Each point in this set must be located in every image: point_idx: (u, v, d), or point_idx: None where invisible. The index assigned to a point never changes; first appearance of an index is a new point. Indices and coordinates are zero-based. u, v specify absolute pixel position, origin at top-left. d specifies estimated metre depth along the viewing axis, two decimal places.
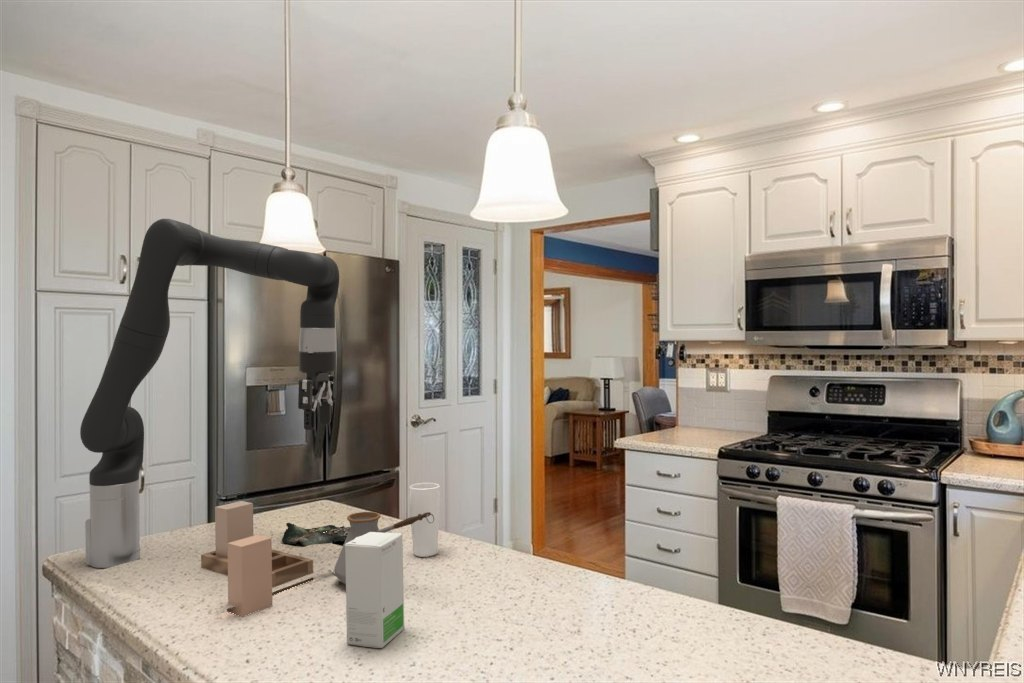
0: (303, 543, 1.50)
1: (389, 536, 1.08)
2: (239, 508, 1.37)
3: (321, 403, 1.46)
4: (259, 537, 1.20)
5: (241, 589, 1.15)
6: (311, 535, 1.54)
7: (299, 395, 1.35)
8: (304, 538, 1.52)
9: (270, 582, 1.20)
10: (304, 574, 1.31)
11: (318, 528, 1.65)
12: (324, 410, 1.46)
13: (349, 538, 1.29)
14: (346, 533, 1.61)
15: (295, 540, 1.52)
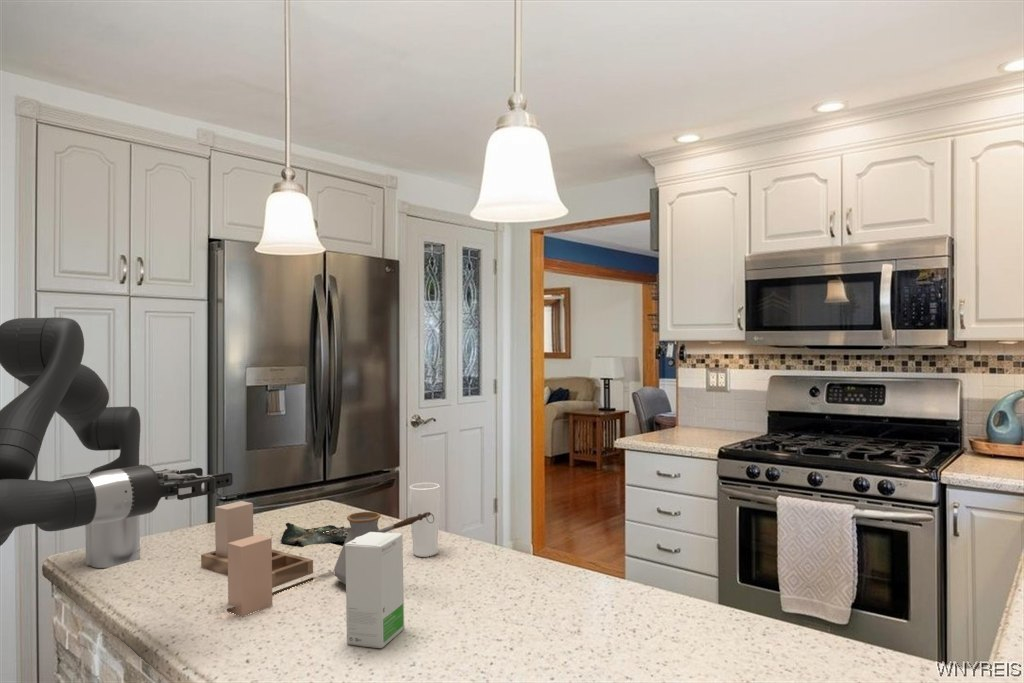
0: (302, 543, 1.50)
1: (389, 537, 1.08)
2: (239, 508, 1.37)
3: None
4: (259, 537, 1.20)
5: (241, 589, 1.15)
6: (310, 535, 1.53)
7: None
8: (303, 538, 1.52)
9: (270, 582, 1.20)
10: (304, 574, 1.31)
11: (318, 528, 1.65)
12: None
13: (349, 538, 1.29)
14: (345, 533, 1.60)
15: (294, 540, 1.52)
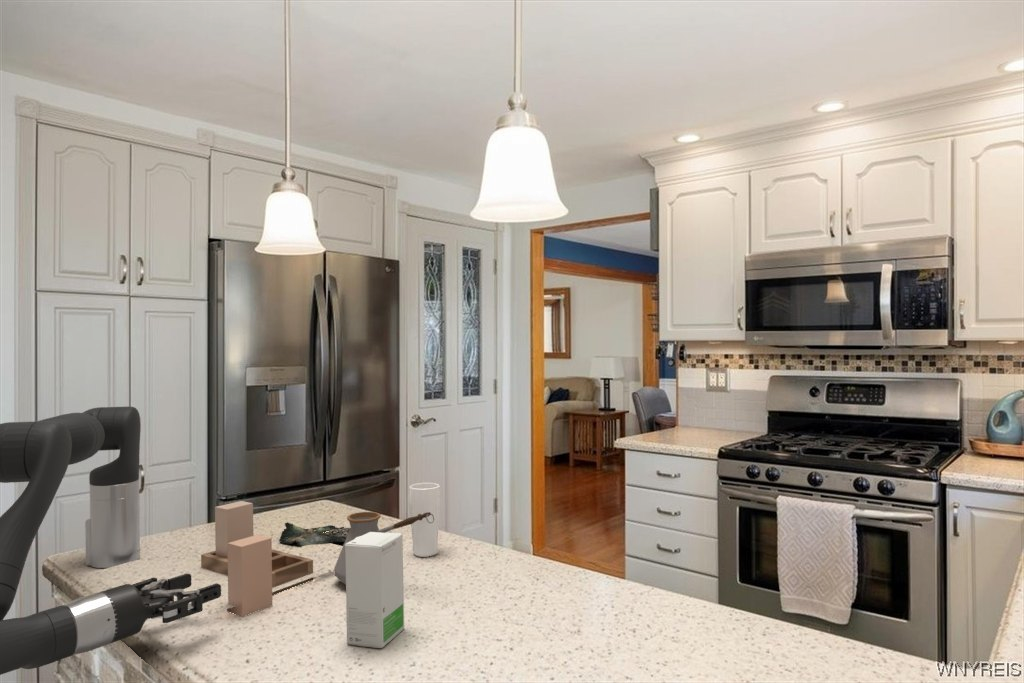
0: (300, 543, 1.50)
1: (389, 537, 1.08)
2: (239, 508, 1.37)
3: None
4: (259, 537, 1.20)
5: (241, 589, 1.15)
6: (308, 535, 1.53)
7: None
8: (301, 538, 1.52)
9: (270, 582, 1.20)
10: (304, 574, 1.31)
11: (318, 528, 1.65)
12: None
13: (349, 538, 1.29)
14: (344, 534, 1.60)
15: (292, 540, 1.52)
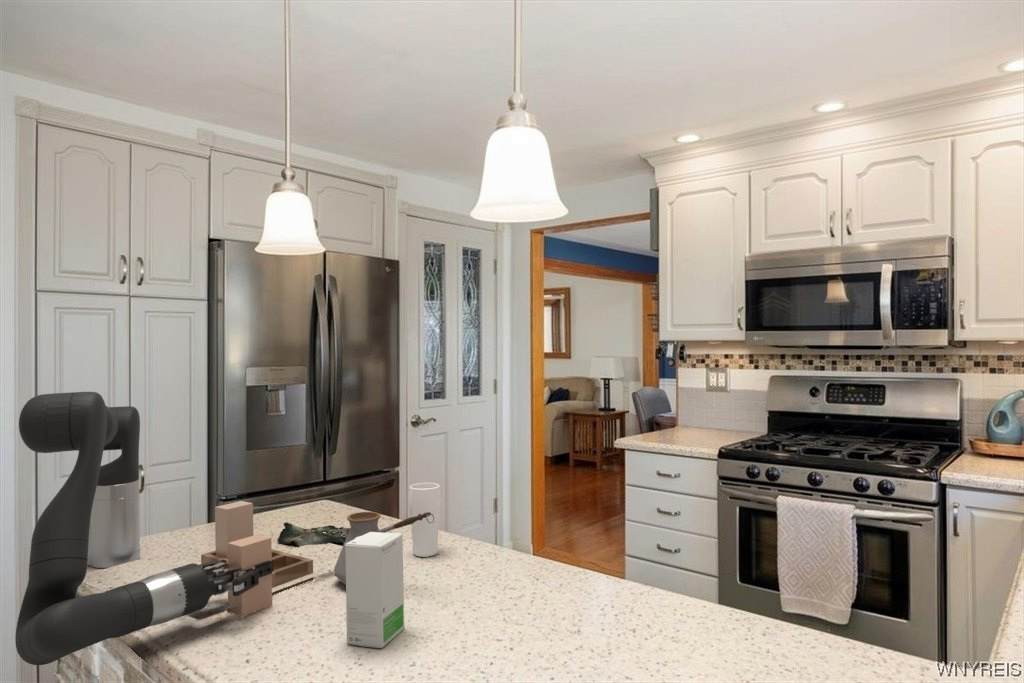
0: (297, 543, 1.50)
1: (389, 537, 1.08)
2: (239, 508, 1.37)
3: None
4: (259, 537, 1.20)
5: None
6: (306, 535, 1.53)
7: None
8: (299, 538, 1.52)
9: (270, 582, 1.20)
10: (304, 574, 1.31)
11: (317, 528, 1.65)
12: None
13: (349, 538, 1.29)
14: (343, 534, 1.60)
15: (290, 540, 1.52)
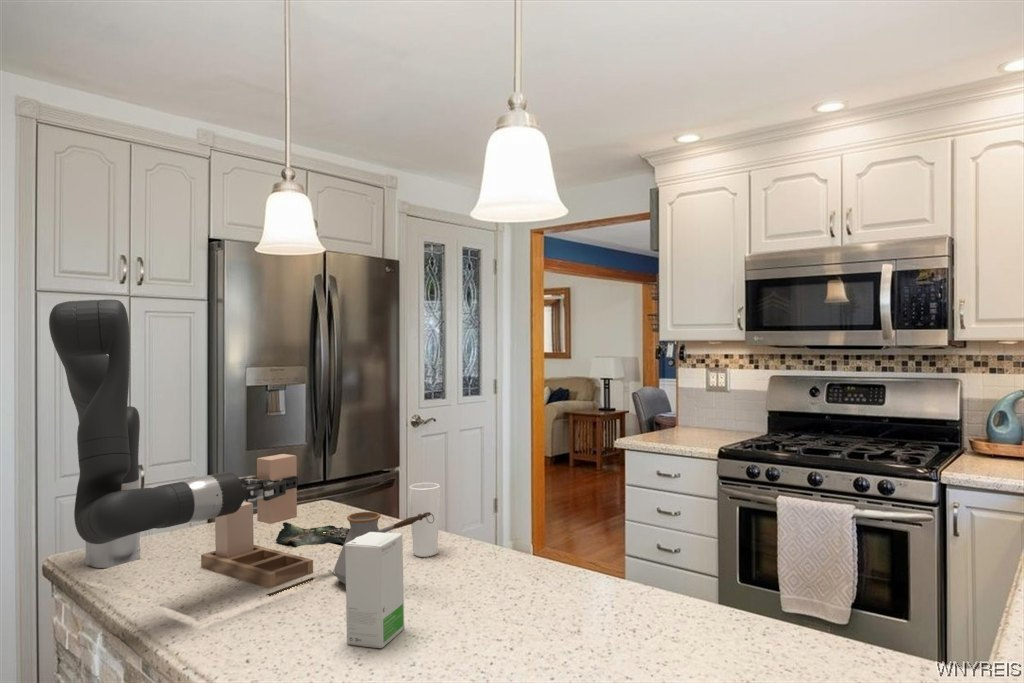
0: (295, 543, 1.50)
1: (389, 537, 1.08)
2: (239, 508, 1.37)
3: None
4: (285, 455, 1.32)
5: None
6: (305, 535, 1.53)
7: None
8: (297, 538, 1.52)
9: (295, 495, 1.31)
10: (304, 574, 1.31)
11: (317, 528, 1.65)
12: None
13: (349, 538, 1.29)
14: (342, 534, 1.60)
15: (288, 540, 1.52)
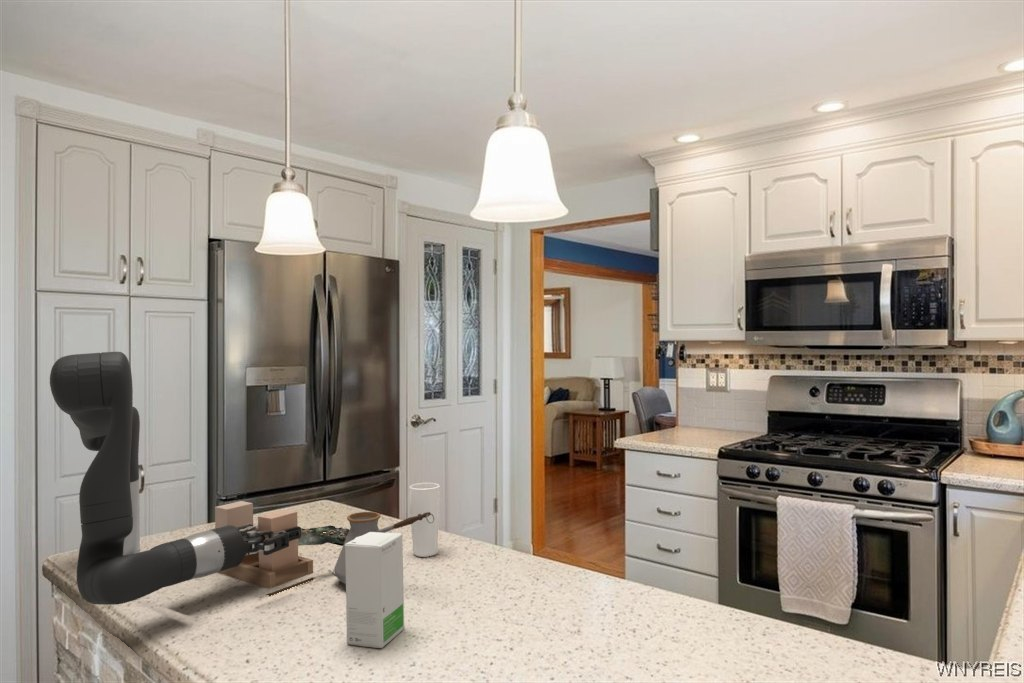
0: None
1: (389, 537, 1.08)
2: (239, 508, 1.37)
3: None
4: (286, 511, 1.32)
5: (271, 557, 1.27)
6: (303, 535, 1.53)
7: None
8: None
9: (296, 552, 1.32)
10: (304, 574, 1.31)
11: (317, 528, 1.65)
12: None
13: (349, 538, 1.29)
14: (341, 535, 1.59)
15: None
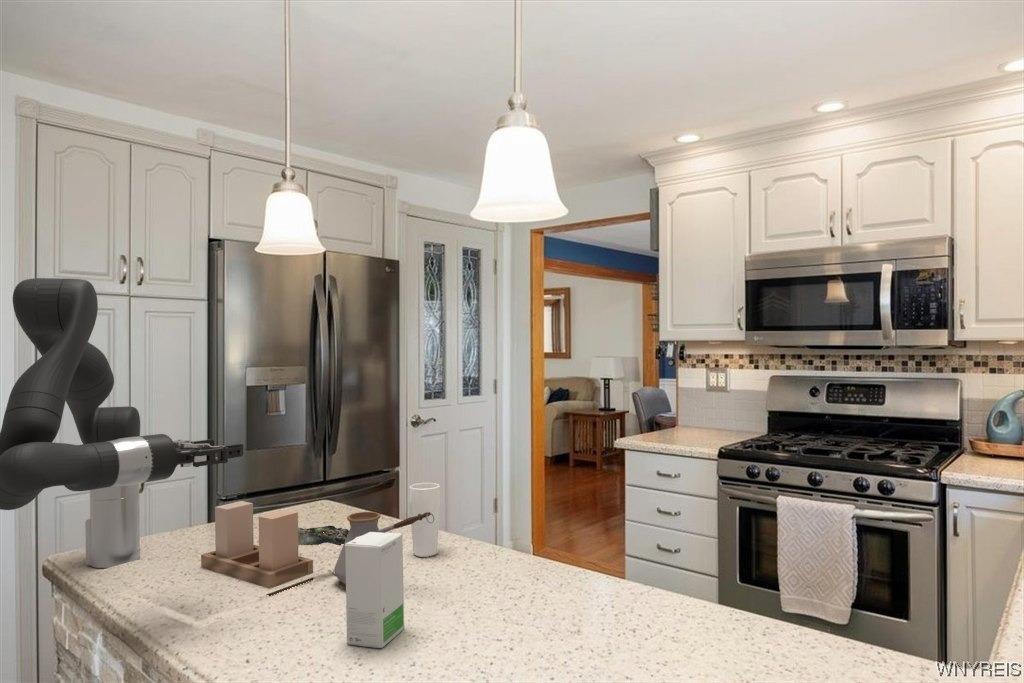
0: None
1: (389, 537, 1.08)
2: (239, 508, 1.37)
3: None
4: (286, 511, 1.32)
5: (271, 557, 1.27)
6: (300, 536, 1.53)
7: None
8: None
9: (297, 552, 1.32)
10: (304, 574, 1.31)
11: (316, 528, 1.65)
12: None
13: (349, 538, 1.29)
14: (339, 535, 1.59)
15: None
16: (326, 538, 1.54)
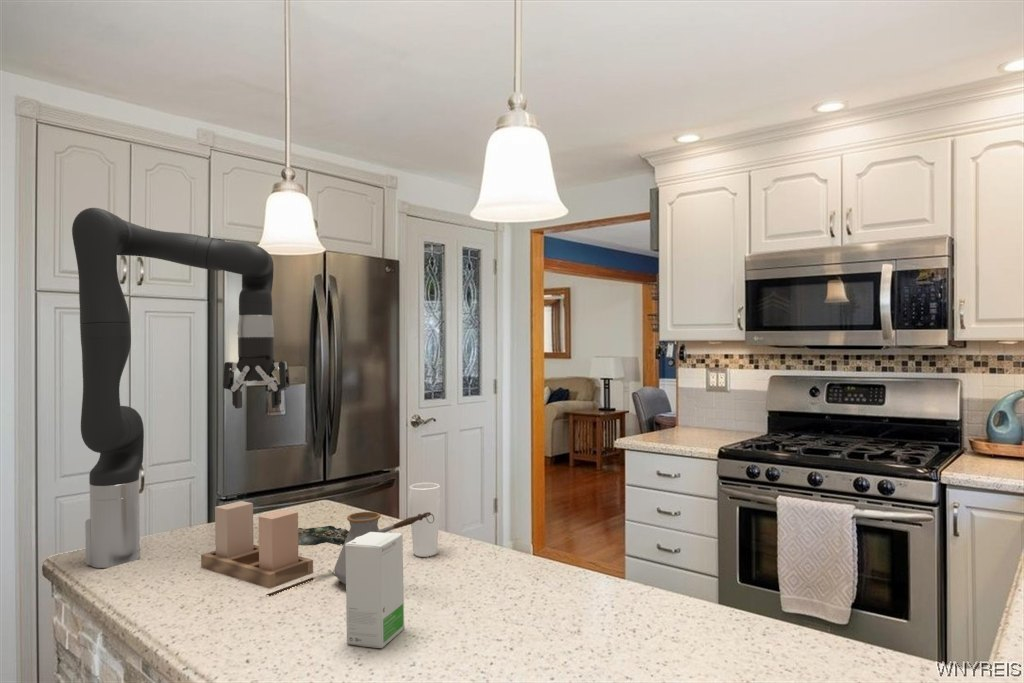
0: None
1: (389, 537, 1.08)
2: (239, 508, 1.37)
3: None
4: (286, 511, 1.32)
5: (271, 557, 1.27)
6: (298, 536, 1.53)
7: None
8: None
9: (297, 552, 1.32)
10: (304, 574, 1.31)
11: (316, 528, 1.65)
12: None
13: (349, 538, 1.29)
14: (338, 535, 1.59)
15: None
16: (324, 538, 1.53)
